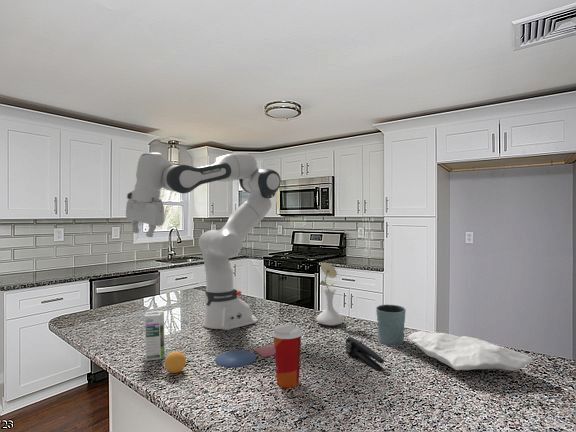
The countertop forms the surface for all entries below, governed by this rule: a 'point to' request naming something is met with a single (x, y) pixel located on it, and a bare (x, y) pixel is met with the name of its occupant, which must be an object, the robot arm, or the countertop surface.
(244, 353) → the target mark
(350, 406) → the countertop surface
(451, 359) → the crumpled cloth
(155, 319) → the syrup box
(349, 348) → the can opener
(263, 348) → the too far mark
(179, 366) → the ball
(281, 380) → the coffee cup
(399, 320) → the teal cup
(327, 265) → the flower in vase
